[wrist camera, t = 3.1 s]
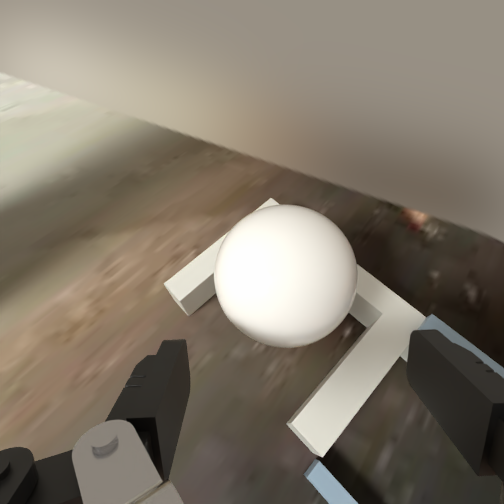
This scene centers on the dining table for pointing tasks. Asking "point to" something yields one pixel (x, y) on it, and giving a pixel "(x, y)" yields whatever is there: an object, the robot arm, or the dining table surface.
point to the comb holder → (349, 366)
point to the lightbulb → (285, 276)
